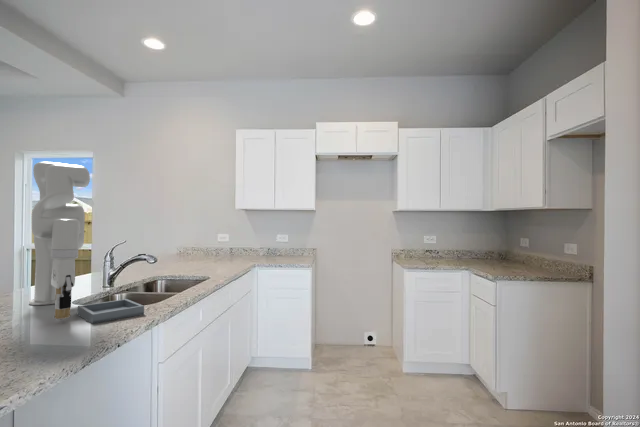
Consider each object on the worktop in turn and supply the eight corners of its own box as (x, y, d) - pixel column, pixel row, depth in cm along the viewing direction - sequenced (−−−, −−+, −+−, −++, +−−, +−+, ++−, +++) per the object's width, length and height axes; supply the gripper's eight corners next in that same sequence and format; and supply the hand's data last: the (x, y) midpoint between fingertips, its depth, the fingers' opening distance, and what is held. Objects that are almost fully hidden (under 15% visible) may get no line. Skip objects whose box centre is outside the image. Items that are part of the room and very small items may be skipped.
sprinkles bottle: (59, 315, 121) (61, 277, 121) (73, 315, 122) (75, 277, 122) (51, 319, 117) (52, 279, 117) (65, 319, 117) (66, 279, 117)
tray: (77, 314, 129) (77, 306, 129) (126, 306, 142) (126, 298, 142) (92, 323, 118) (92, 314, 118) (143, 314, 131) (144, 305, 131)
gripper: (45, 252, 122) (43, 304, 122) (58, 257, 111) (55, 314, 111) (70, 251, 128) (69, 300, 127) (85, 255, 117) (83, 309, 117)
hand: (63, 306), depth 119 cm, fingers closed on sprinkles bottle, 4 cm apart
